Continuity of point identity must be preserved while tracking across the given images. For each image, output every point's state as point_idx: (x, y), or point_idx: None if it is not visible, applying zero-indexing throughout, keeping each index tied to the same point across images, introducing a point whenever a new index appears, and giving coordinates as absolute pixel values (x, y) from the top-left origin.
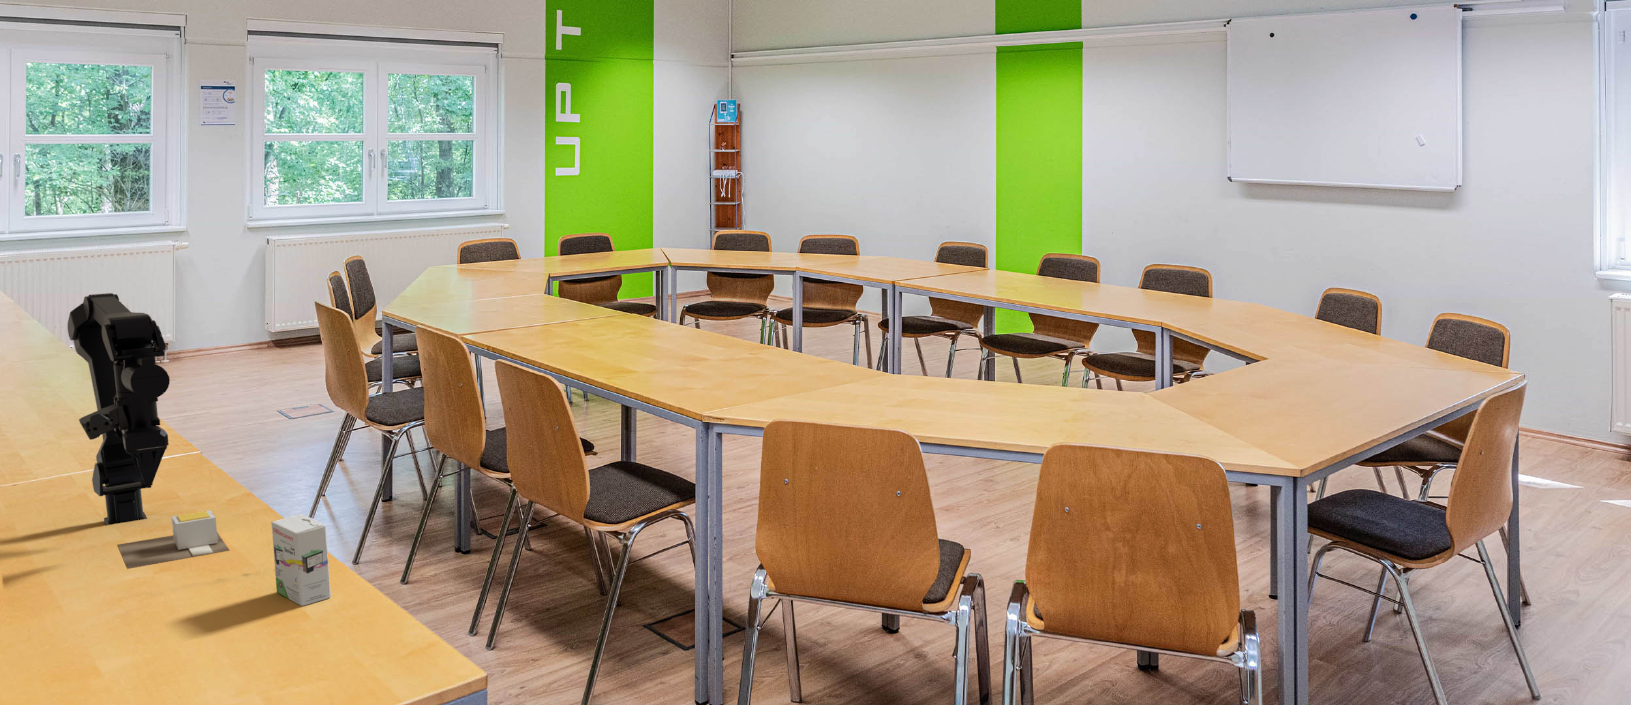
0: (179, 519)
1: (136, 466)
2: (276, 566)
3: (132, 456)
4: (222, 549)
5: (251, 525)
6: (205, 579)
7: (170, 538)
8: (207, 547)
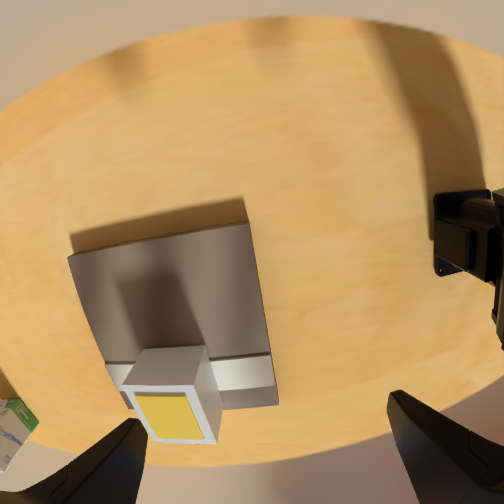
0: (152, 395)
1: (402, 412)
2: (1, 415)
3: (433, 442)
4: None
5: (305, 434)
6: (49, 356)
7: (243, 337)
8: None
